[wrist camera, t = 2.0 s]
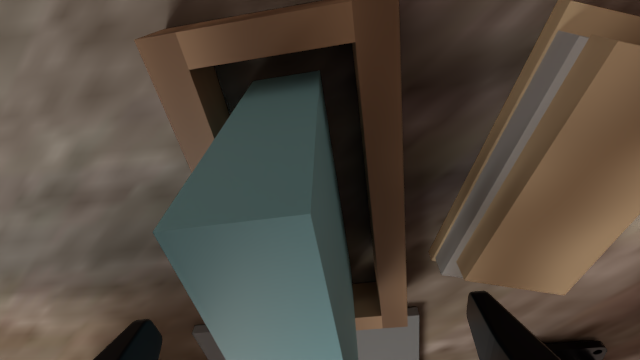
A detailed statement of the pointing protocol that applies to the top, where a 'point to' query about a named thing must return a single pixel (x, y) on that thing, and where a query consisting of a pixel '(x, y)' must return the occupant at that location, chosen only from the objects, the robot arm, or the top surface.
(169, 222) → the teal block
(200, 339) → the charcoal mat
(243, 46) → the walnut rack
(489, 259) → the offcut stack
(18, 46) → the top surface
